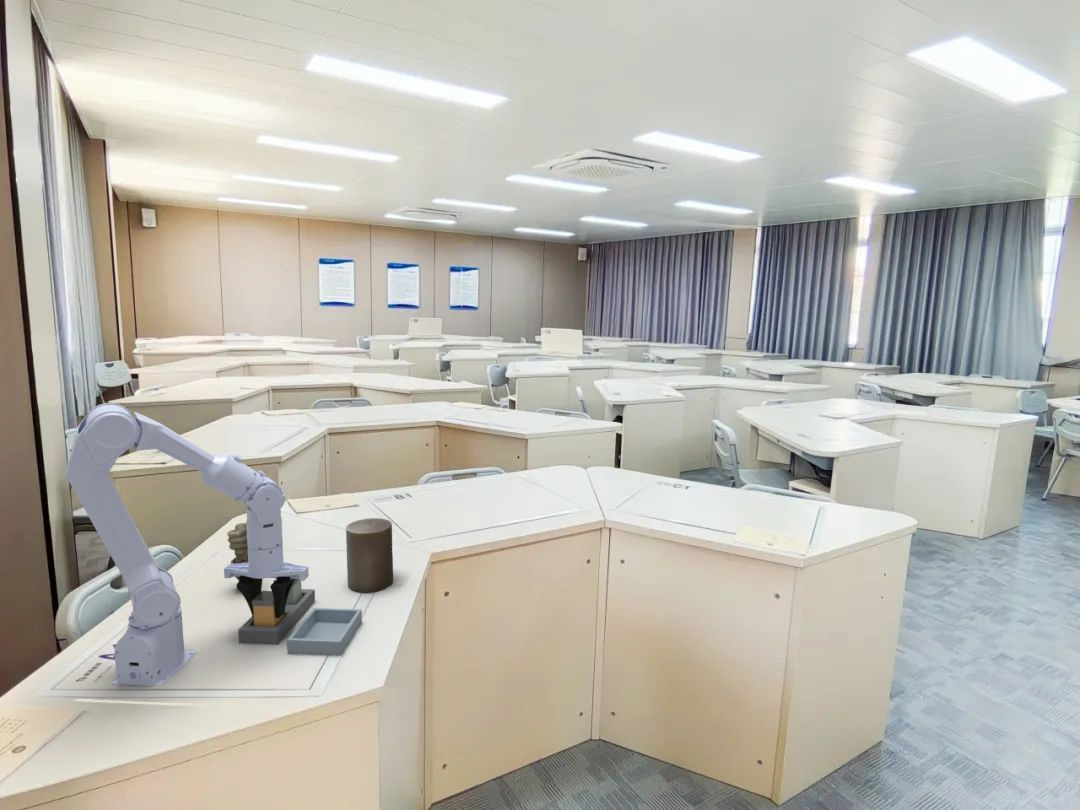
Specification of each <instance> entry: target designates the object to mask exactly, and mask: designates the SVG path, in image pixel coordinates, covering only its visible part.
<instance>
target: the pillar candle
mask: <svg viewBox="0 0 1080 810" xmlns="http://www.w3.org/2000/svg"><path fill="white" fill-rule="evenodd" d="M392 525H393V524H392V521H391V520H388V519H385V518H379V517H378V518H377V517H376V518H375V517H372V518H371V517H370V518H364V519H363V518H362V519H359V520H354V521H352V522H350V523H348V524H347V525H346V527H345V538H346V539H345V542H346V543H345V544H346V571H347V572H346V573H347V587H348V590H350V591H351V592H354V593H358V594H373V593H378V592H381V591H384V590H386V589H387V588H389V587H391V586H392V585H393V584H394V559H393V558H394V557H393V526H392Z"/></svg>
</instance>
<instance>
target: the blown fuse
mask: <svg viewBox="0 0 1080 810" xmlns="http://www.w3.org/2000/svg"><path fill="white" fill-rule="evenodd" d="M252 606H253V612H254V626H273V627H276V626H277V625H278V624H279V623H280V622H281V620H282V619H283V615H282V616H281V617H280V618H276V616H275V603H274V597H273V593H272V590H262V591H261V593H260V594H259V595H257V596H256V597H255V598H254V599H253V600H252Z"/></svg>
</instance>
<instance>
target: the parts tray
mask: <svg viewBox="0 0 1080 810" xmlns="http://www.w3.org/2000/svg"><path fill="white" fill-rule="evenodd" d="M362 611H363V609H359V608H358V609H355V608H353V609H352V608H329V607H328V608H327V607H325V608H323V607H313V608H312V609H311V611H310V612H309V613H308V614H307V615H306V617H304V619H303V620H302V621H301V623H300V624H298V625H297V627H296V628H295V629H294V631H293V632H292V634H290V635H289V637H287V639H286V646H287V647H286V648H287V651H286V652H287V654H288V655H290V654H291V655H311V656H312V655H314V656H315V655H316V656H317V655H318V656H342V655H343V652H344V651H345V649H346V648H347V647H348V644H349V643H350V641H351V640H352V638H353V637H354V635H355V634H356V632H357V631H358V629H359V627H360V626H361V625H362V623H363V612H362Z"/></svg>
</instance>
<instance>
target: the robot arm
mask: <svg viewBox="0 0 1080 810" xmlns="http://www.w3.org/2000/svg"><path fill="white" fill-rule="evenodd" d="M133 413H134V415H135V417H136V418H134V415H133ZM133 413H132V412H131V411H130V410H129V409H128V408H127V407H125V406H124V405H122V404H118V403H112V402H106V403H105V402H104V403H101V404H98V405H96V406H94V407H92V408H91V409H90V410H89V411H88V412H87V414H86V415H85V416H84V417H83V419H82V420H81V421H80V422H79V424H78V426H77V428H76V433H75V436H74V440H73V444H72V448H71V451H70V453H69V454H70V455H69V459H68V463H67V465H66V478H67V481H68V483H69V484H70V486H71V487H72V490H73V491H74V494H75V495H76V496H77V498H78V500H79V502H80V503H81V505H82V507H83V509H84V511H85V512H86V514H87V516H88V518H89V519H90V521H91V523H92V525H93V527H94V529H95V530H96V532H97V534H98V536H99V537H100V539H101V540H102V542H103V545H104V546H105V548H106V550H107V551H108V553H109V555H110V556H111V559H112V561H113V562H114V564H115V566H116V567H117V569H118V571H119V572H120V574H121V576H122V578H123V580H124V583H125V586H126V588H127V590H128V596H129V598H130V601H131V607H132V611H131V613H130V615H129V616H128V625H127V629H126V631H125V633H124V634H123V635H122V637H120V639H119V640H118V641H117V642H116V644H115V647H114V661H115V674H116V678H115V680H113V681H112V682H111V685H115V686H117V685H119V686H140V687H141V686H144V687H148V686H149V687H150V686H151V687H160V686H163V685H164V684H165V683H166V682H167V681H168V680H170V679H171V677H172V676H174V675H175V674H176V673H177V672H178V671H179V670H180V669H181V668H182V667H183V666H185V664H186V663H188V662H189V661H190V659H192V658H193V657H194V656H195V655H197V650H185V644H184V643H185V641H184V639H185V638H184V627H183V626H184V625H183V615H182V606H181V602H182V601H181V596H180V594H179V593H178V591H177V590H176V587H175V585H174V579H173V576H172V575H171V573H170V572H169V571H167V570H166V569H164V568H163V567H161V566H159V564H158V563H157V561H156V559H155V557H154V556H153V554H152V553H151V551H150V550H149V547H148V546H147V544H146V541H145V540H144V538H143V536H142V535H141V533H140V530H139V528H138V527H137V526H136V523H135V521H134V520H133V518H132V516H131V514H130V512H129V510H128V508H127V506H126V505H125V503H124V501H123V499H122V498H121V496H120V493H119V492H118V489H117V488H116V486H115V484H114V482H113V481H112V479H111V477H110V475H109V473H110V471H111V470H112V468H113V466H114V465H115V464H116V462H117V460H118V458H119V457H120V456H121V455H123V454H124V453H126V451H128V450H129V449H130V448H131V447H132V446H134V448H135V451H147V450H148V451H149V450H150V451H151V450H157V451H159V452H161V453H164V454H165V455H167V456H169V457H172V458H173V459H176V460H177V461H180V462H181V463H183V464H185V465H187V466H189V467H191V468H192V469H193V468H194V469H195V470H197V471H199V472H201V474H202V481H203V484H205V485H207V486H209V487H211V488H212V489H214V490H217V491H218V492H221V493H222V494H225V496H228V497H229V498H231V499H232V500H235V501H237V502H243V504H245V505H247V506H246V522H245V523H246V525H247V544H248V563H239V564H231V563H229V564H228V565H226V566H225V567H223V576H224V579H231V578H236V577H240V580H239V581H238V582H237V583H236V589H237V590H238V591H239V592H240V593H241V595H242V596H243V598H244V599H245V601H246V603H247V606H248V608H249V610H250V613H251V617H252V616H253V617H254V612H253V606H252V600H253V599H254V598H255V597H256V596H257V595H259V594H260V593H261V592H262V591H263V590H262V588H263V581H264V580H263V579H276V578H277V580H276V581H275V582H274V581H273V582H272V583H271V584H270V591H272V593H273V597H274V603H275V616H276V618H280V617H281V616H282V615H283V614H284V613H285V606H286V602H287V598H288V595H289V592H290V589H291V587H292V585H293V583H294V581H295V579H299V581H301V582H305V580H307V578H308V577H309V574H310V573H309V566H308V565H299V564H294V563H289V562H286V561H284V548H283V547H284V545H283V519H282V518H283V517H282V514H281V513H282V508H283V506H284V505H285V502H286V495H284V491H283V490H282V487H281V486H280V485H279V484H277V483H276V482H275V481H274V480H272V479H271V478H270V477H269V476H268V475H266V473H265V472H263V471H261V470H260V469H259V470H258V471H256V470H255V469H253V468H252V467H249V466H248V465H246V464H244V463H243V462H242V458H241V457H239V456H238V455H236V454H232V456H231V455H229V454H228V453H221V454H216V455H213V454H211V453H210V452H208V451H206V450H205V449H203V448H201V447H199V446H198V445H197V444H195V443H193V442H191V441H190V440H188V439H186V438H185V437H183V436H182V435H180V434H178V433H177V432H175V431H173V430H172V429H170V428H169V427H167V426H166V425H164V424H162V423H161V422H158V421H156V420H154V419H152V418H150V417H148V416H146V415H143V414H141V413H140V412H135V411H133Z"/></svg>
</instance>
